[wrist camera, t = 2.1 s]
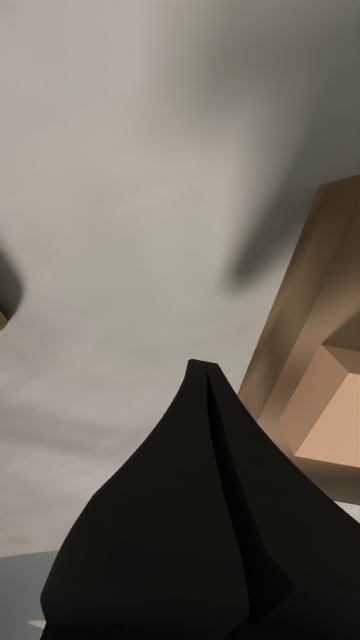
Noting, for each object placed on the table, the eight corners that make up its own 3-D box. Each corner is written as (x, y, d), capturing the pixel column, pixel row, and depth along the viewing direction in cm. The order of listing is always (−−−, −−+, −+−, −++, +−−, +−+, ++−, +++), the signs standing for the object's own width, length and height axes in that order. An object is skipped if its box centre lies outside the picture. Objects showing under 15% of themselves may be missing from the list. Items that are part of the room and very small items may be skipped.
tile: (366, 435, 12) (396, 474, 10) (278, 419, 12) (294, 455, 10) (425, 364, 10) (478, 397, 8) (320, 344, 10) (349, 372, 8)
